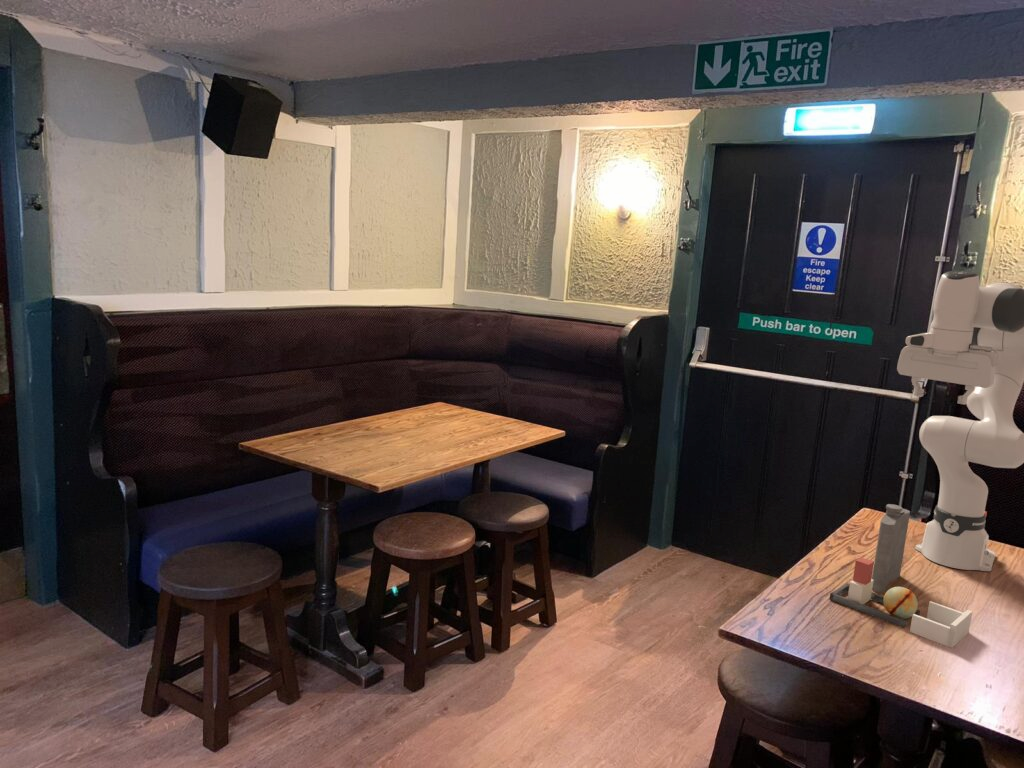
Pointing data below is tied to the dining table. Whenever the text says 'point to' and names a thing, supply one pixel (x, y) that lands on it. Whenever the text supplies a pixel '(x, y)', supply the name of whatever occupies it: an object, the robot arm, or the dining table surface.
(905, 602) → the ball
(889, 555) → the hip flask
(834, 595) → the dark grey rectangular frame
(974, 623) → the dining table surface
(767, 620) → the dining table surface
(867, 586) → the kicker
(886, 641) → the dining table surface
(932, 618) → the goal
